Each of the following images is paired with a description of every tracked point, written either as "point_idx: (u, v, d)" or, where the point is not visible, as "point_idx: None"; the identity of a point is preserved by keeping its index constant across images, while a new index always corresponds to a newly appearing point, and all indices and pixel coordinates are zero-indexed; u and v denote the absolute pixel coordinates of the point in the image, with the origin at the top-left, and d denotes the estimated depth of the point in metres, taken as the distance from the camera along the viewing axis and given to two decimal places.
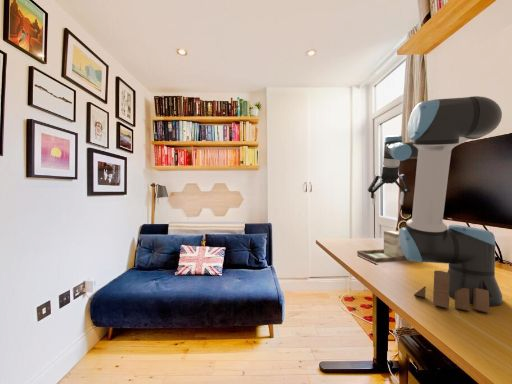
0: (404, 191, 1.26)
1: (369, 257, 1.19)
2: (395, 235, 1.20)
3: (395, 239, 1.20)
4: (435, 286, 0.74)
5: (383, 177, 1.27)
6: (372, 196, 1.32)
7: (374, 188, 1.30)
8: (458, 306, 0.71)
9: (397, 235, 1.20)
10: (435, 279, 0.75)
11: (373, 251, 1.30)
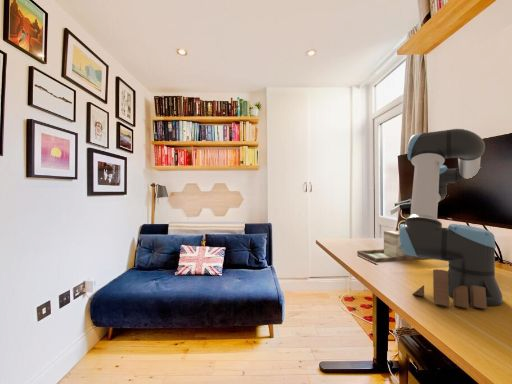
0: None
1: (369, 257, 1.19)
2: (395, 235, 1.20)
3: (395, 239, 1.20)
4: (435, 285, 0.75)
5: None
6: (394, 207, 1.32)
7: None
8: (458, 304, 0.72)
9: (397, 235, 1.20)
10: (435, 278, 0.76)
11: (373, 251, 1.30)
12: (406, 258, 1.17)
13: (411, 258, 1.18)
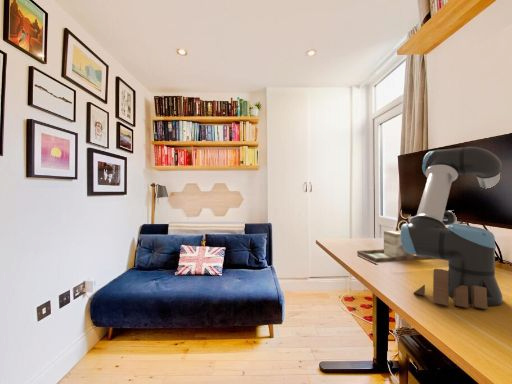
0: None
1: (369, 257, 1.19)
2: (395, 235, 1.20)
3: (395, 239, 1.20)
4: (435, 284, 0.76)
5: None
6: None
7: None
8: (457, 303, 0.73)
9: (397, 235, 1.20)
10: (435, 277, 0.77)
11: (373, 251, 1.30)
12: (406, 258, 1.17)
13: (411, 258, 1.18)
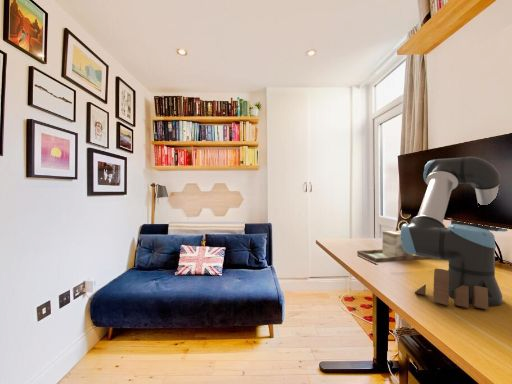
0: None
1: (369, 257, 1.19)
2: (394, 235, 1.20)
3: (394, 239, 1.20)
4: (435, 284, 0.76)
5: None
6: None
7: None
8: (458, 303, 0.73)
9: (396, 235, 1.20)
10: (435, 277, 0.77)
11: (373, 251, 1.30)
12: (406, 258, 1.17)
13: (411, 258, 1.18)
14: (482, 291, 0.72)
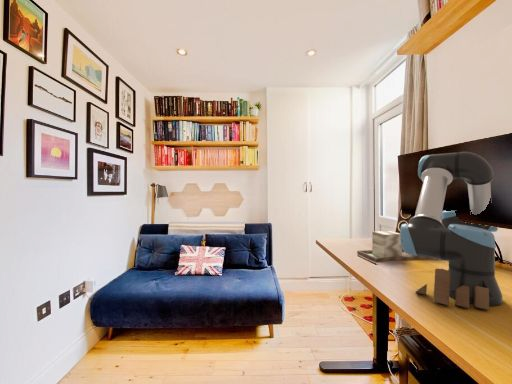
0: None
1: (369, 257, 1.19)
2: (383, 235, 1.19)
3: (383, 239, 1.19)
4: (436, 284, 0.76)
5: None
6: None
7: None
8: (458, 303, 0.73)
9: (385, 235, 1.19)
10: (436, 277, 0.77)
11: None
12: (406, 258, 1.17)
13: (411, 258, 1.18)
14: (483, 291, 0.72)
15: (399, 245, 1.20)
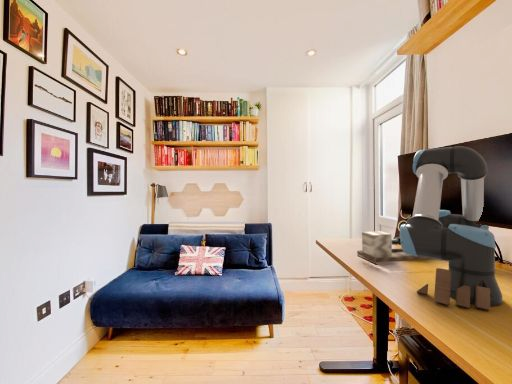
0: (400, 239, 1.24)
1: (369, 257, 1.19)
2: (372, 236, 1.18)
3: (372, 240, 1.18)
4: (436, 283, 0.77)
5: None
6: None
7: None
8: (459, 303, 0.73)
9: (374, 236, 1.18)
10: (436, 276, 0.77)
11: None
12: (406, 258, 1.17)
13: (411, 258, 1.18)
14: (484, 291, 0.72)
15: (388, 245, 1.19)
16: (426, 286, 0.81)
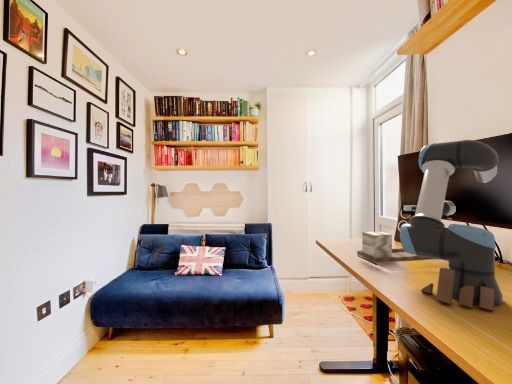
0: None
1: (369, 257, 1.19)
2: (372, 236, 1.18)
3: (372, 240, 1.18)
4: (439, 282, 0.77)
5: None
6: None
7: None
8: (461, 302, 0.73)
9: (374, 236, 1.18)
10: (439, 276, 0.78)
11: None
12: (406, 258, 1.17)
13: (411, 258, 1.18)
14: (488, 292, 0.71)
15: (389, 246, 1.19)
16: (430, 285, 0.82)
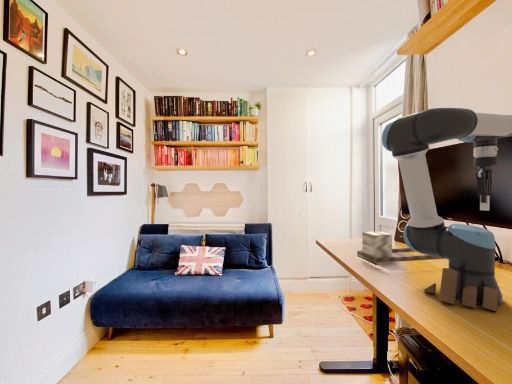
0: None
1: (369, 257, 1.19)
2: (372, 236, 1.18)
3: (372, 240, 1.18)
4: (442, 283, 0.77)
5: None
6: None
7: None
8: (464, 303, 0.73)
9: (374, 236, 1.18)
10: (442, 276, 0.78)
11: None
12: (406, 258, 1.17)
13: (411, 258, 1.18)
14: (492, 292, 0.71)
15: (389, 246, 1.19)
16: (433, 285, 0.82)
